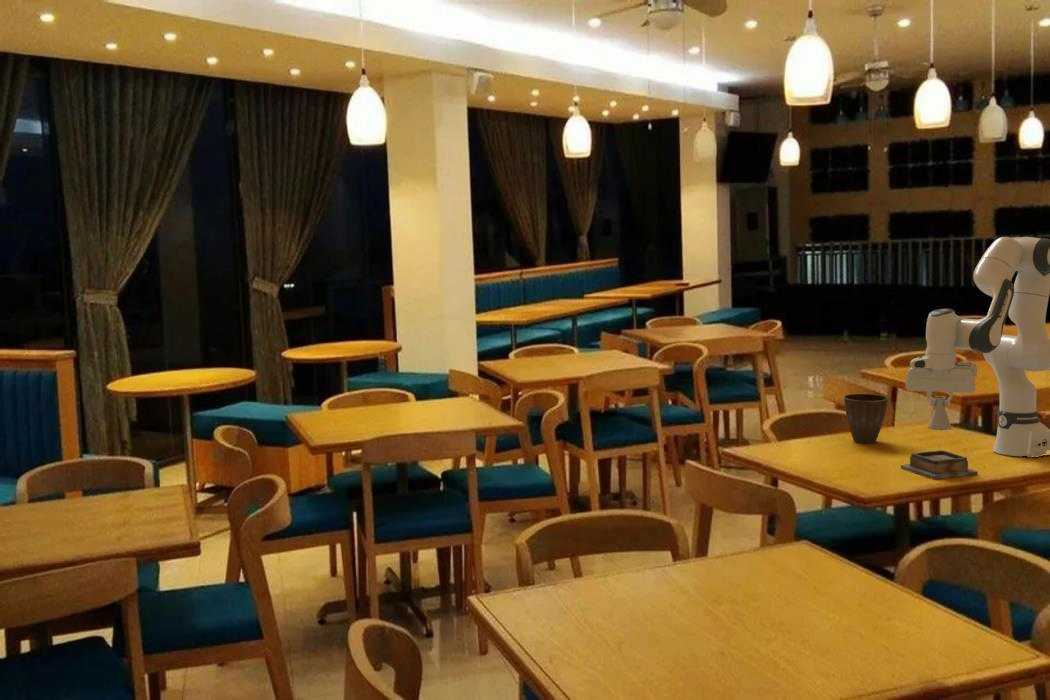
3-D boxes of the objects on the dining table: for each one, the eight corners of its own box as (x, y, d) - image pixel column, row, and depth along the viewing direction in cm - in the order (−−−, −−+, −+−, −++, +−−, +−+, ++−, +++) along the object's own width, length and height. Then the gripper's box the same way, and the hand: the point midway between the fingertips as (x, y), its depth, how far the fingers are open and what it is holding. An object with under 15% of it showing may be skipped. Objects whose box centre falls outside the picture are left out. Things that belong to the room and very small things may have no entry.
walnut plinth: (943, 463, 340) (943, 448, 339) (977, 474, 324) (978, 458, 324) (900, 468, 335) (900, 452, 335) (933, 479, 320) (933, 463, 319)
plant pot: (882, 437, 381) (883, 393, 379) (891, 446, 367) (891, 400, 365) (840, 437, 383) (840, 393, 381) (846, 445, 369) (847, 400, 367)
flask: (947, 426, 332) (948, 394, 330) (955, 431, 325) (955, 399, 323) (924, 426, 332) (924, 395, 331) (930, 431, 325) (931, 399, 324)
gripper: (977, 361, 324) (976, 405, 326) (906, 359, 333) (906, 402, 334) (977, 364, 319) (976, 409, 320) (905, 362, 327) (904, 406, 329)
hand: (939, 405), depth 327 cm, fingers closed on flask, 3 cm apart
